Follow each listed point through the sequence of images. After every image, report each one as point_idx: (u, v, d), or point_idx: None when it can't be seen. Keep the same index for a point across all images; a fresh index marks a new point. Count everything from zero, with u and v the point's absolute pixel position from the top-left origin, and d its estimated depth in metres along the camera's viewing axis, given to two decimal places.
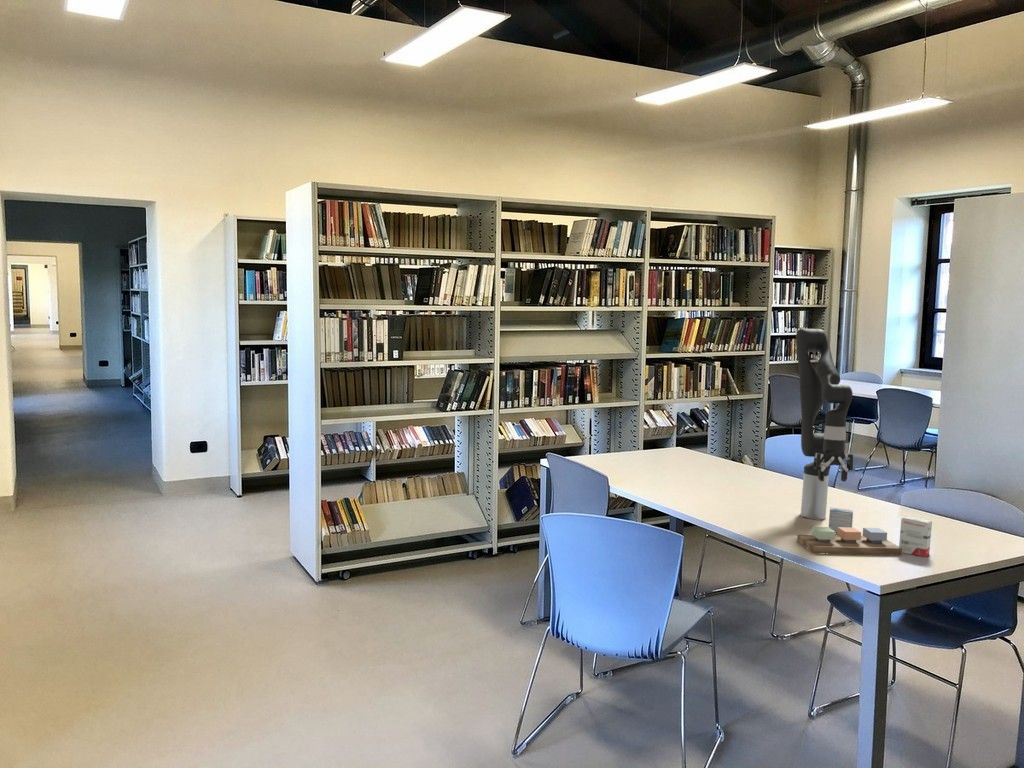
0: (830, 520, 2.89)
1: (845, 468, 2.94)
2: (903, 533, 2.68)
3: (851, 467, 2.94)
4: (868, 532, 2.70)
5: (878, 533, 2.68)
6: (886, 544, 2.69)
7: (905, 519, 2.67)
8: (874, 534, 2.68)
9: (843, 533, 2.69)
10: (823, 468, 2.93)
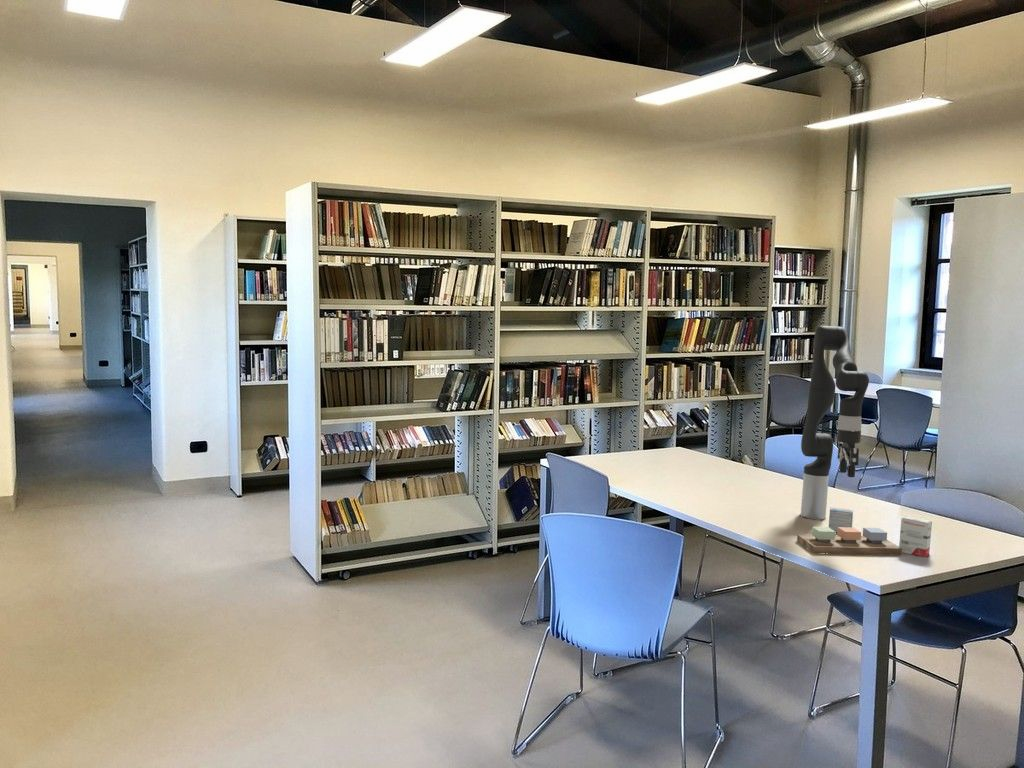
0: (830, 520, 2.89)
1: None
2: (903, 533, 2.68)
3: None
4: (868, 532, 2.70)
5: (878, 533, 2.68)
6: (886, 544, 2.69)
7: (905, 519, 2.67)
8: (874, 534, 2.68)
9: (843, 533, 2.69)
10: None
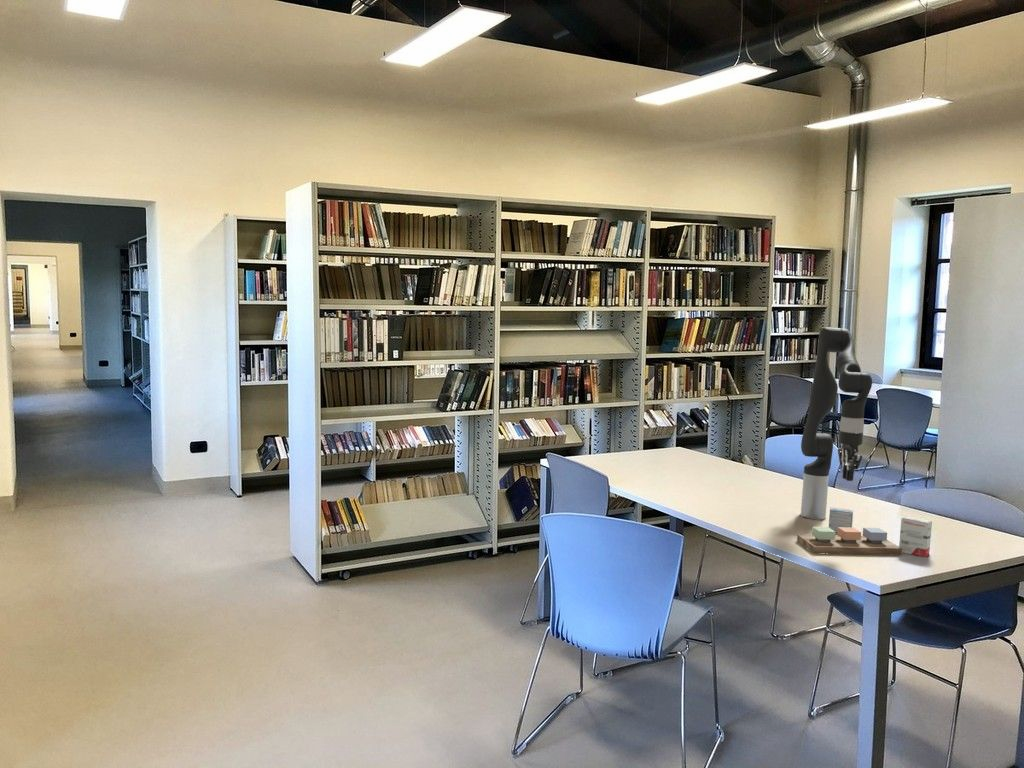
0: (830, 520, 2.89)
1: None
2: (903, 533, 2.68)
3: None
4: (868, 532, 2.70)
5: (878, 533, 2.68)
6: (886, 544, 2.69)
7: (905, 519, 2.67)
8: (874, 534, 2.68)
9: (843, 533, 2.69)
10: None
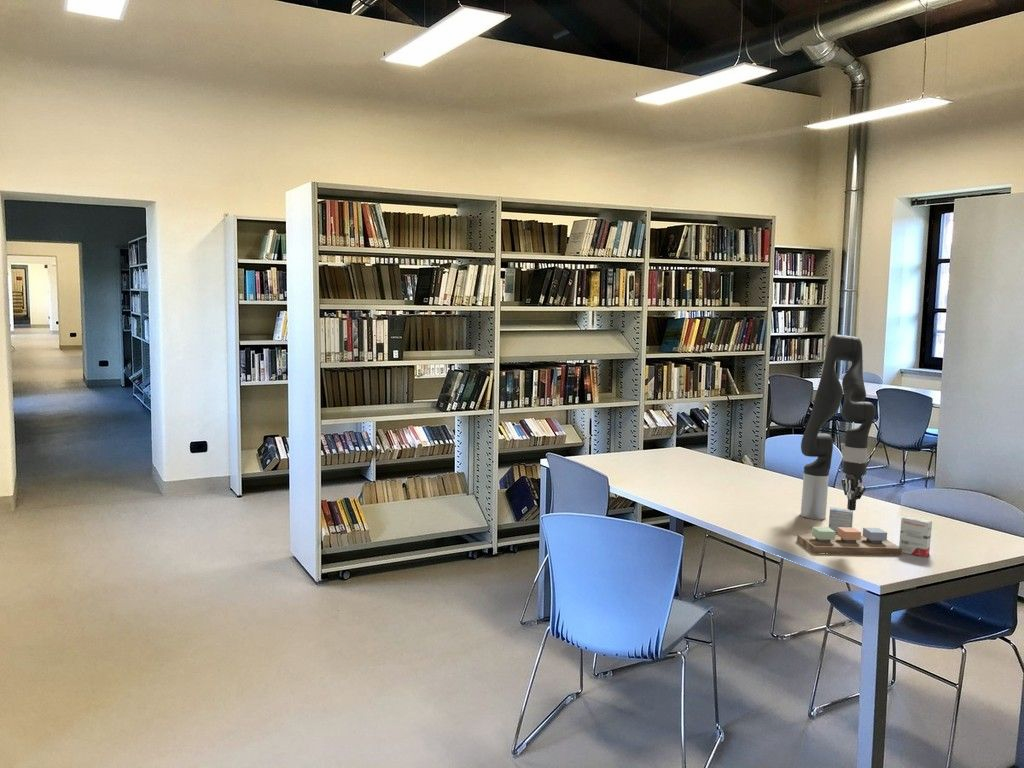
0: (830, 520, 2.89)
1: None
2: (903, 533, 2.68)
3: None
4: (868, 532, 2.70)
5: (878, 533, 2.68)
6: (886, 544, 2.69)
7: (905, 519, 2.67)
8: (874, 534, 2.68)
9: (843, 533, 2.69)
10: None
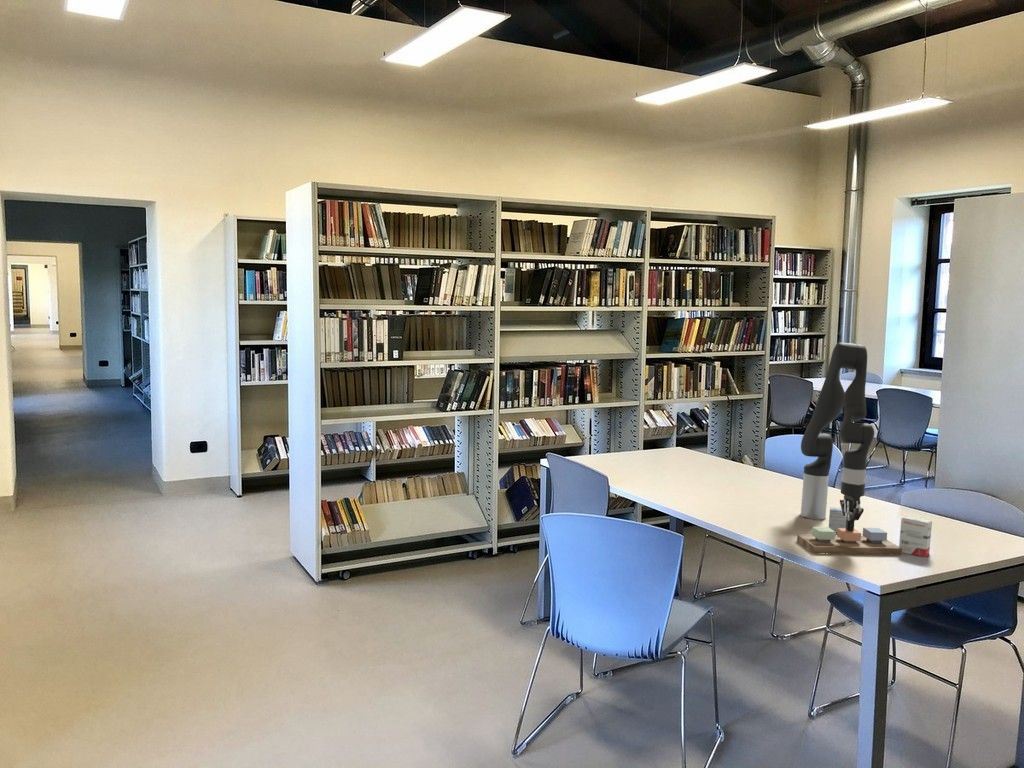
0: (830, 520, 2.89)
1: None
2: (903, 533, 2.68)
3: None
4: (868, 532, 2.70)
5: (878, 533, 2.68)
6: (886, 544, 2.69)
7: (905, 519, 2.67)
8: (874, 534, 2.68)
9: (842, 534, 2.69)
10: None
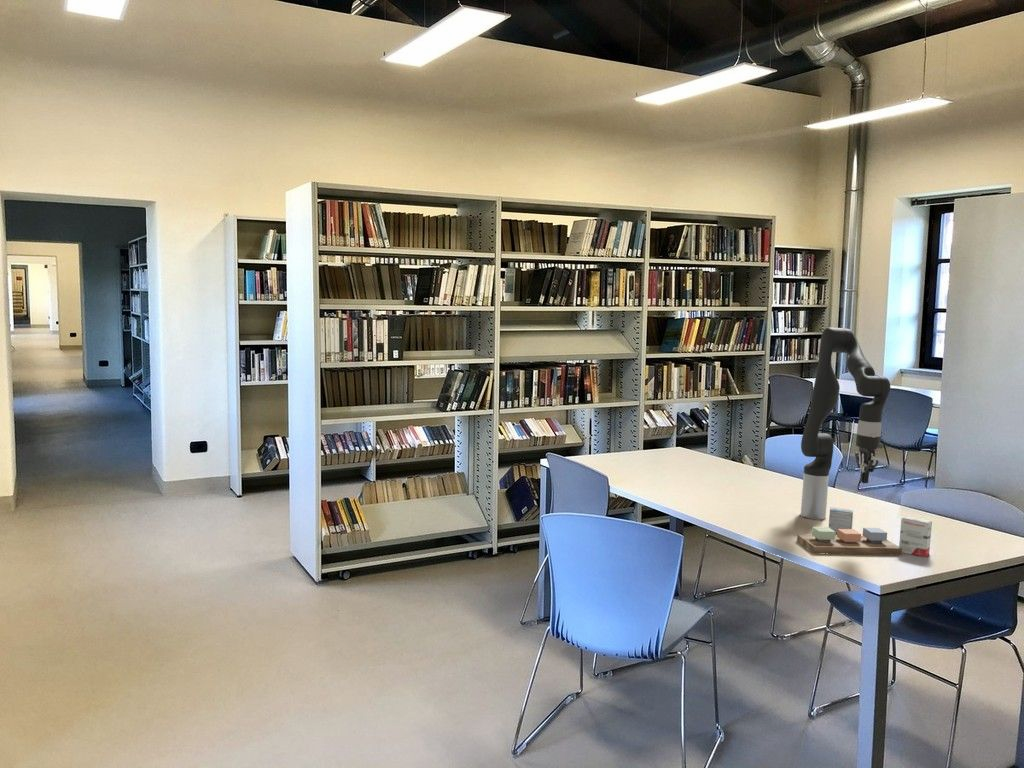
0: (830, 520, 2.89)
1: None
2: (903, 533, 2.68)
3: None
4: (868, 532, 2.70)
5: (878, 533, 2.68)
6: (886, 544, 2.69)
7: (905, 519, 2.67)
8: (874, 534, 2.68)
9: (842, 535, 2.69)
10: None
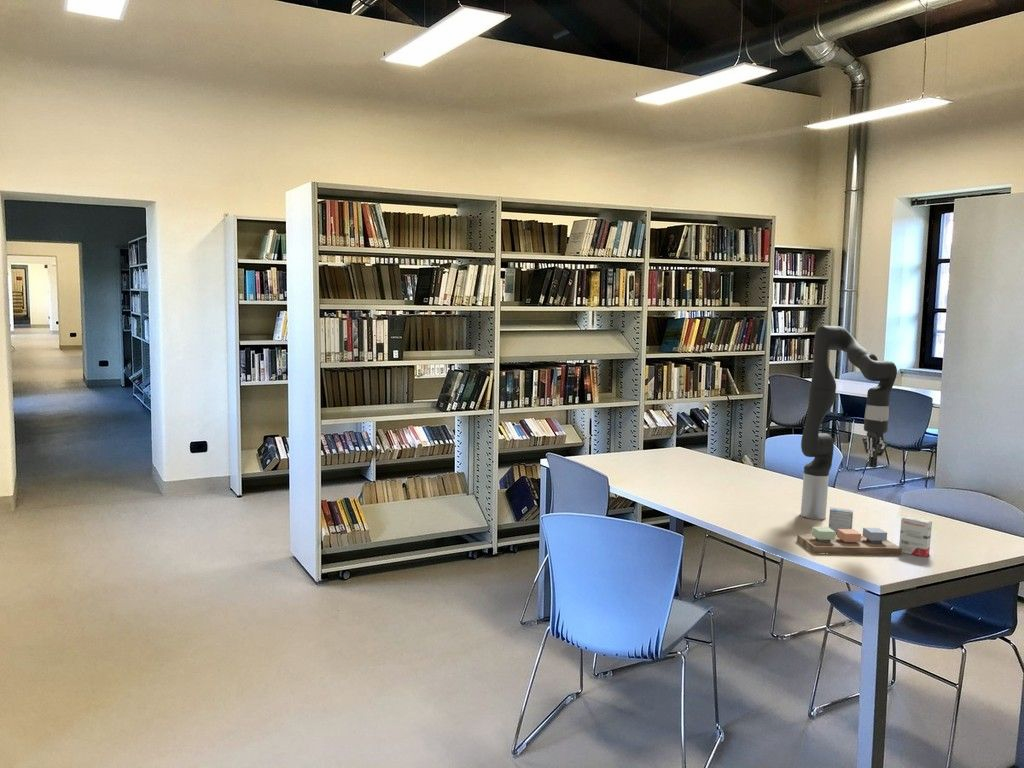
0: (830, 520, 2.89)
1: None
2: (903, 533, 2.68)
3: None
4: (868, 532, 2.70)
5: (878, 533, 2.68)
6: (886, 544, 2.69)
7: (905, 519, 2.67)
8: (874, 534, 2.68)
9: (842, 535, 2.69)
10: None
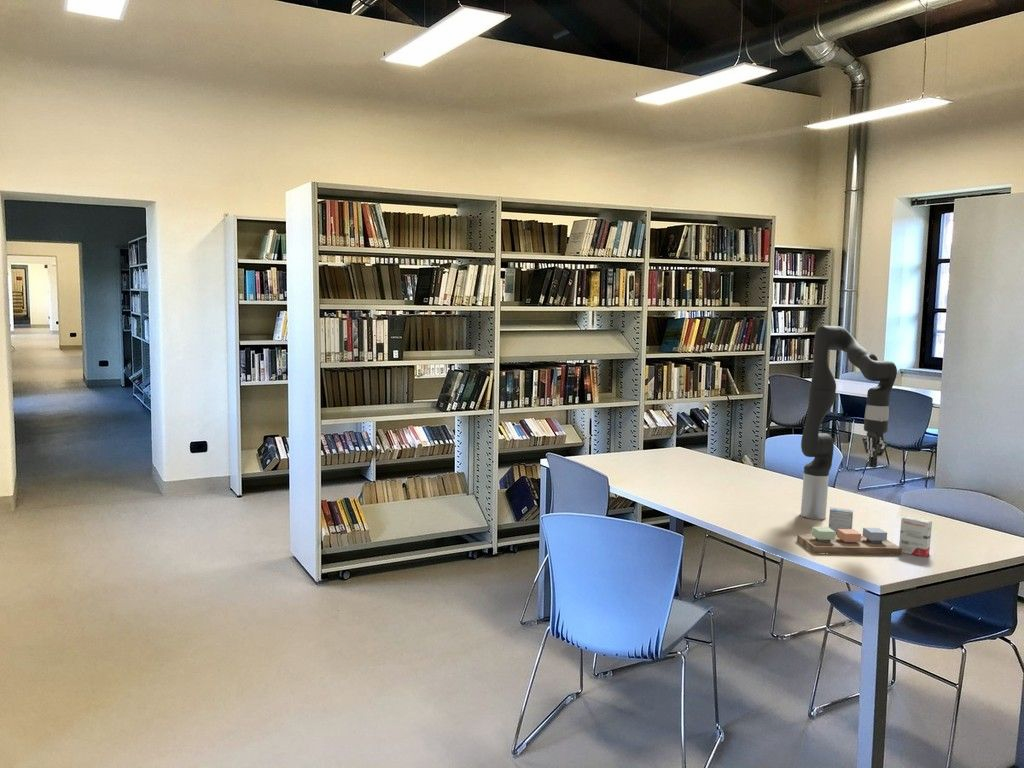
0: (830, 520, 2.89)
1: None
2: (903, 533, 2.68)
3: None
4: (868, 532, 2.70)
5: (878, 533, 2.68)
6: (886, 544, 2.69)
7: (905, 519, 2.67)
8: (874, 534, 2.68)
9: (842, 535, 2.69)
10: None
